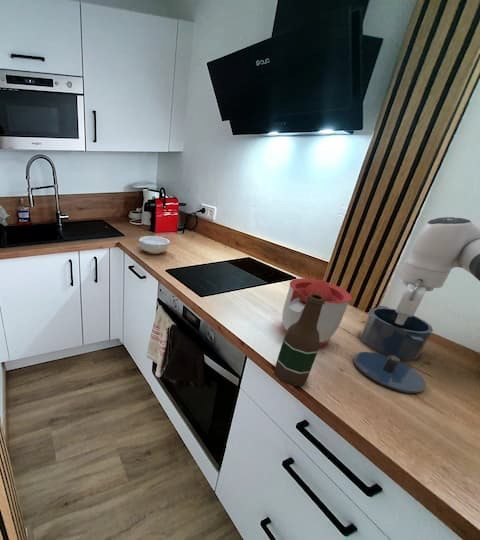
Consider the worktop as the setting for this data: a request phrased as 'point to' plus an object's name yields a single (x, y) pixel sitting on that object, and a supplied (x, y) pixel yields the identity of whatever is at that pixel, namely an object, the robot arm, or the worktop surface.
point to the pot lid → (389, 372)
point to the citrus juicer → (329, 312)
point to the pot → (395, 334)
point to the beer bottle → (300, 345)
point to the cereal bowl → (154, 244)
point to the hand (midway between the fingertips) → (401, 317)
